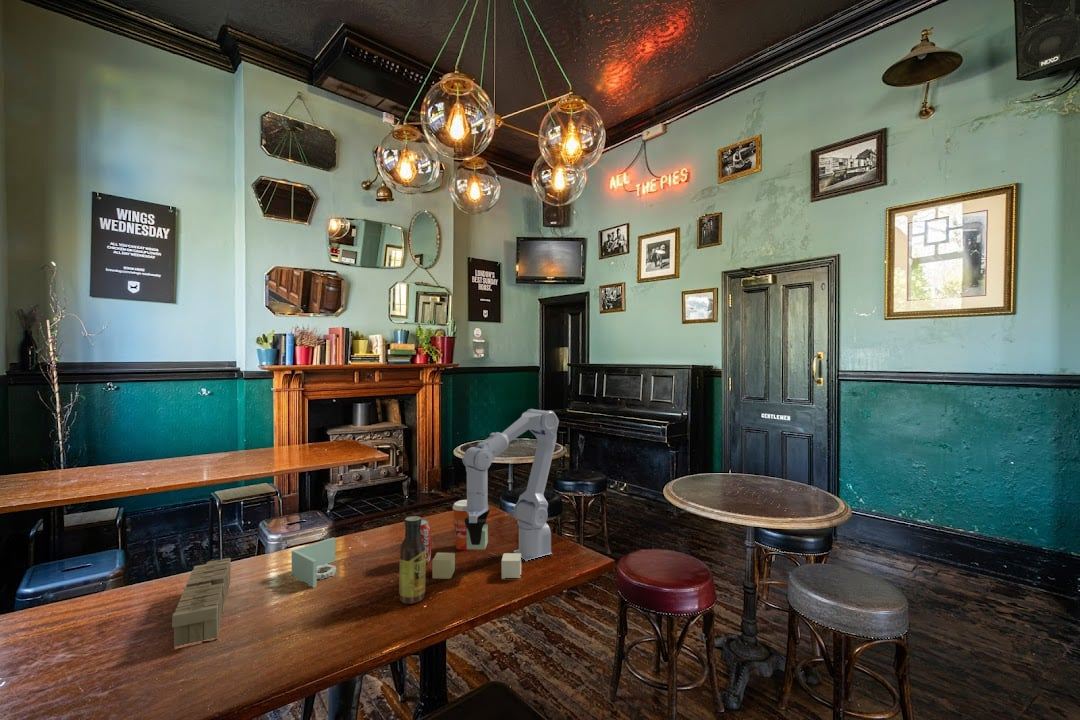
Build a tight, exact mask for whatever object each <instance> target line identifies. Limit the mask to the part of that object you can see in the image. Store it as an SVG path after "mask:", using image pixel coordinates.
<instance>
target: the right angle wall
mask: <svg viewBox="0 0 1080 720" xmlns="http://www.w3.org/2000/svg"><path fill="white" fill-rule="evenodd" d="M334 561H335V562H336V537H330V538H327V539H324V540H320V541H317V542H314V543H311V544H308V545H304V546H302V547H299V548H295V549H293V550H291V576H292V575H293V576H295V577H296V578H298V579H300V580H301V581H300V580H299V581H300V582H302V581H303V582H305V583H307V584H308V585H310V586H312V587H316V586H318V584H317V582H318V580H317V579H320V581H322V580H325V579H324V578H327V577H329V576H333V577H334V576H335V573H337V566H336V565H332V563H331V562H333V563H335V562H334ZM328 563H330V564H328ZM325 570H327V572H321V571H325ZM318 572H319V573H318ZM293 576H292V577H293ZM295 577H294V578H295ZM296 578H295V579H296ZM329 578H330V577H329ZM298 579H297V580H298ZM321 579H322V580H321ZM303 582H302V583H303ZM305 583H304V584H305ZM307 584H306V585H307ZM308 585H307V586H308ZM310 586H309V587H310ZM312 587H311V588H312ZM316 588H317V587H316Z"/></svg>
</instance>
